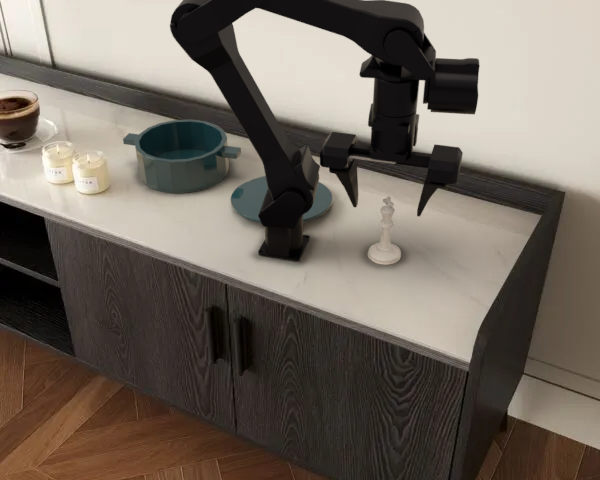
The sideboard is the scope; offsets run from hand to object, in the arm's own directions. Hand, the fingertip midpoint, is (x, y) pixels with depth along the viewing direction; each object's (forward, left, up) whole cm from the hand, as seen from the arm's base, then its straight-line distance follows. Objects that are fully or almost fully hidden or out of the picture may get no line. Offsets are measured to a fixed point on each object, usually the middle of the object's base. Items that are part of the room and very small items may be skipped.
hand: (386, 210), depth 109 cm
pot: (+16, +39, -8) cm, 43 cm away
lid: (+9, +19, -7) cm, 22 cm away
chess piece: (0, 0, -8) cm, 8 cm away
